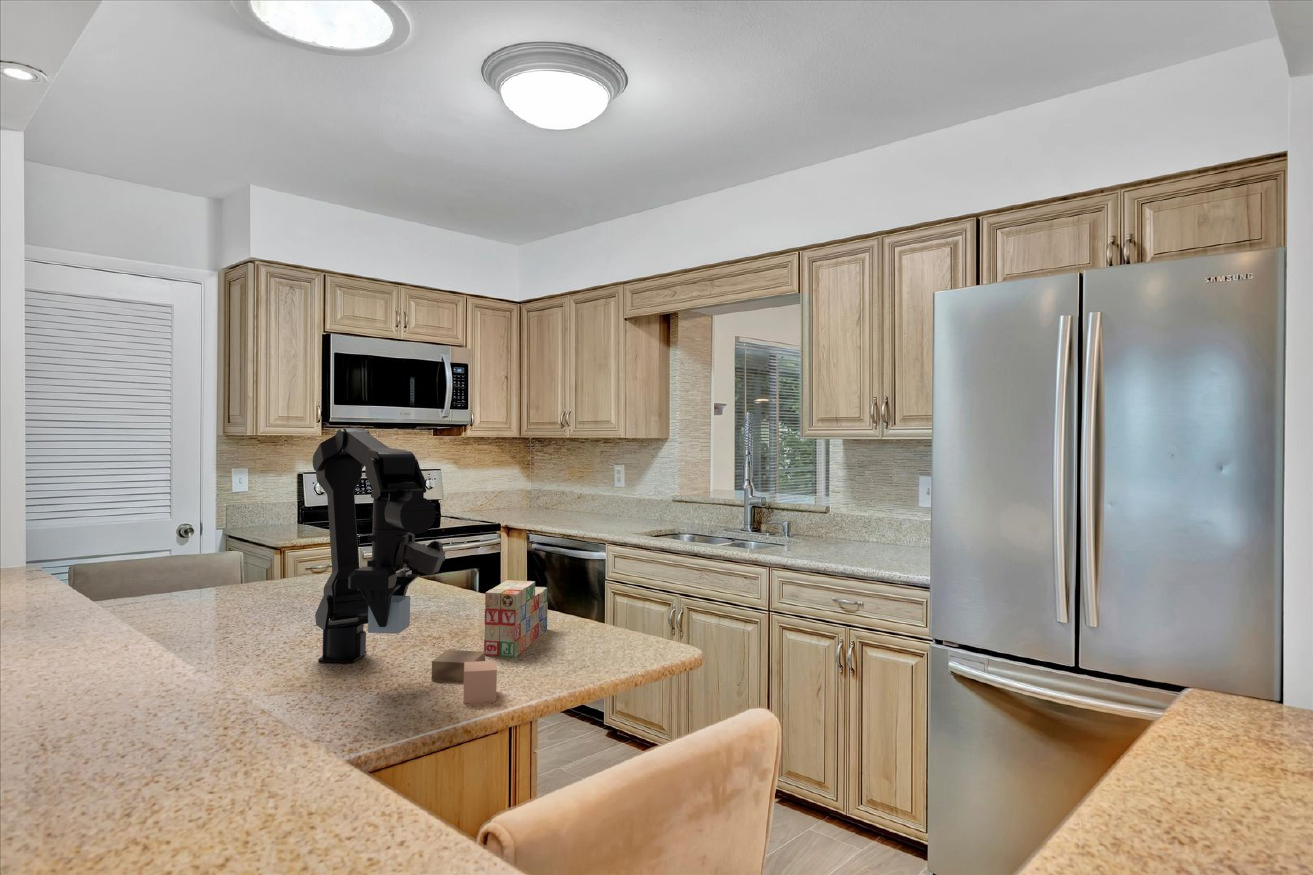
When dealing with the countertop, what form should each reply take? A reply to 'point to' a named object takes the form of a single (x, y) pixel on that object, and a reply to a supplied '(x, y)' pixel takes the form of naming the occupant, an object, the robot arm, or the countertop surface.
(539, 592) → the stack of blocks
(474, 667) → the terracotta cube
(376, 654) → the countertop surface
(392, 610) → the slate cube
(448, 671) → the walnut slab
